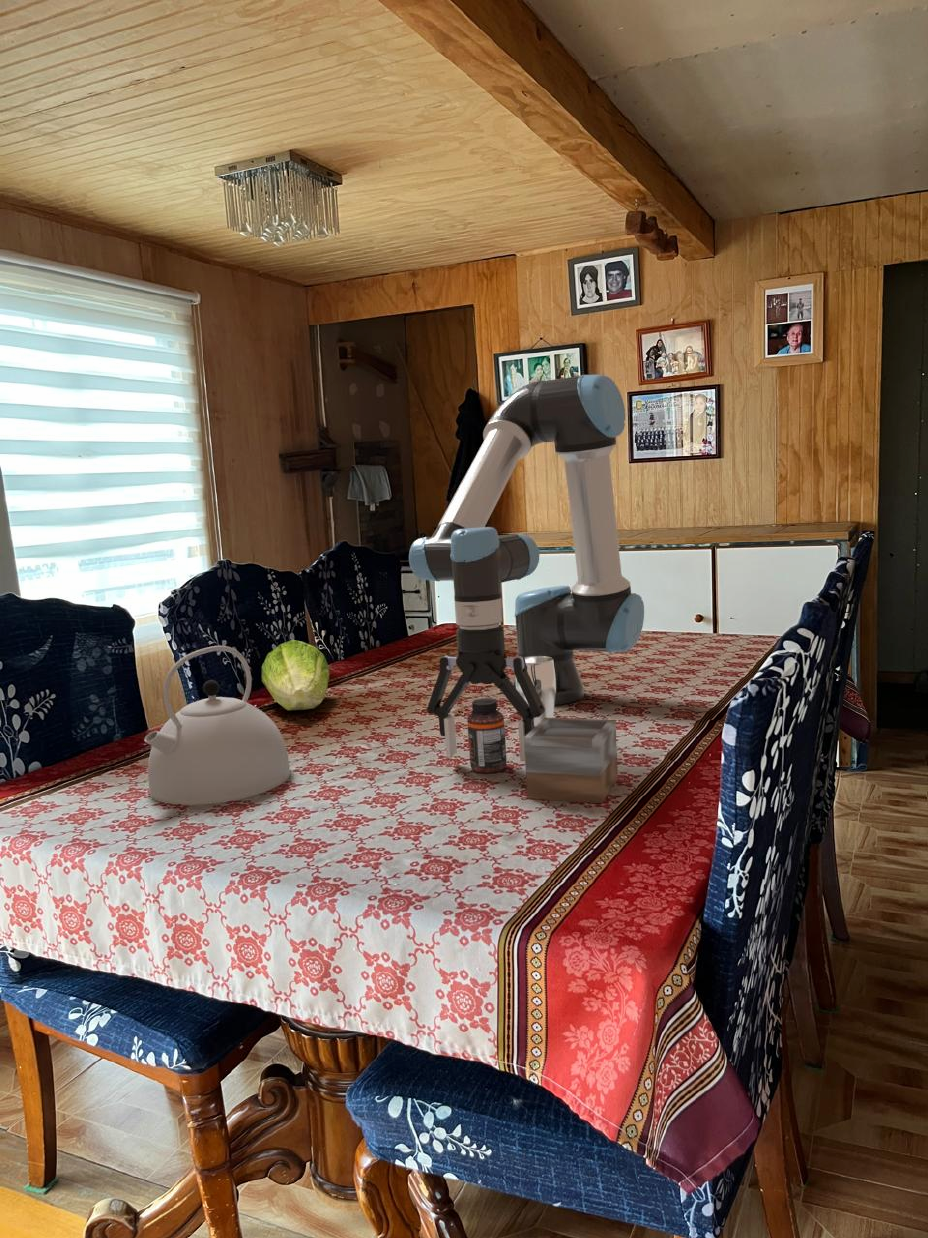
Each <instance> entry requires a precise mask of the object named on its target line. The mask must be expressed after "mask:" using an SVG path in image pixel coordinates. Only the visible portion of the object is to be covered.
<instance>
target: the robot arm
mask: <svg viewBox="0 0 928 1238" xmlns="http://www.w3.org/2000/svg"><path fill="white" fill-rule="evenodd" d="M625 421H626V409H625V403H624V400H623V396H622V394H621V391H620V389H619V387H618V386H617V385H616V383H615V382H614V380H613V379H612V378H610V377H609V376H607V375H604V374H581V375H577V376H571V377H570V376H569V377H565V378H556V379H548V380H539V381H533V382H531V383H528V384H525V385H524V386H522V387H520V388H519V389H517V390H515V392H513V393H512V394H511V395H510V396H509V397H507V399H505V400H504V401H503V402H502V403H501V405H499V407H497V409H496V410H495V411H494V412H493V414H492V415H491V417H490V419H489V420H488V422H487V424H486V426H485V427H484V429H483V432H482V437H483V442H482V444H481V445H480V447H479V449H478V451H477V453H476V455H475V457H474V458H473V460H472V462H471V464H470V466H469V468H468V469H467V471H466V473H465V475H464V477H463V479H462V480H461V482H460V484H459V486H458V488H457V490H456V492H455V493H454V495H453V497H452V499H451V501H450V502H449V505H448V507H447V508H446V509H445V512H444V514H443V515H442V517H441V519H440V521H439V522H438V525H437V527H436V529H435V530H434V532H433V533H432V536H425V537H420V538H417V539H416V540H414V541H413V542H412V544H411V545H410V548H409V553H408V563H409V567H410V570H411V571H412V574H413V575H414V576H415V577H416V578H418V579H420V580H422V581H432V582H443V581H445V582H446V581H449V582H450V581H451V582H452V581H453V591H454V592H453V593H454V595H453V597H454V612H455V613H454V615H455V624H456V625H457V626H459V627H458V628H457V629H456V644H457V645H456V647H457V653H458V654H457V657H456V656H451V654H447V655H444V656H443V657H441V658H440V659H439V673H438V674H437V678H436V681H435V684H434V687H433V689H432V690H433V691H432V694H431V696H430V699H429V702H428V705H427V708H426V712H427V713H428V714H430V715H431V714H432V715H435V716H437V718H438V725H439V735H440V736H441V737H444V740H445V741H444V742H445V755H446V758H449V759H451V758H452V757H453V756H455V755H456V754H457V753H458V752H457V736H456V735H457V734H456V733H457V731H456V721H455V720H456V717H455V714H451V711H452V709H453V708H454V706H455V705H456V703H457V702H458V700H459V699H460V698H461V696H462V694H463V693H464V691H465V690H466V689H467V687H468V685H469V684H472V685H478V684H484V685H492V684H494V685H495V687H496V688H497V689H499V690H500V691H501V693H502V694H503V695H504V697H506V699H507V700H508V702H510V704H511V706H513V708H514V709H515V711H517V713H518V715H519V716H520V719H519V720H518V721H517V723H518V724H517V725H518V737H519V738H518V739H519V740H518V741H519V756H520V762H523V763H525V749H524V737H525V736H526V735H527V734H528V733H529V732H530V731H531V730H532V729H533V728H534V718H536V717H539V716H541V715H542V714H543V713H544V712H545V708H544V706H543V704H542V702H541V700H540V697H539V695H538V693H537V691H536V689H535V687H534V685H533V683H532V681H531V678H530V676H529V674H528V672H527V670H526V663H525V657H529V656H548V657H552V658H553V662H554V669H555V678H556V696H555V705H554V706H557V705H558V706H559V705H564V704H571V703H575V702H577V701H579V700H582V699H583V698H584V697H585V695H584V693H585V691H584V683H583V681H582V679H581V676H580V673H579V671H578V668H577V665H576V663H575V659H574V658H575V657H574V651H583V652H585V651H587V652H599V653H601V652H602V653H608V654H612V653H625V652H626V653H627V652H629V651H630V650H632V649H633V648H634V647H635V645H636V644H637V643H638V641H639V639H640V636H641V634H642V630H643V627H644V620H645V604H644V601H643V600H642V599H643V598H642V596H641V595H640V594H637V593H636V592H635V593H633V592H632V589H631V581H630V580H628V579H627V578H626V577H624V576H623V575H622V567H621V566H622V565H621V557H620V549H619V548H620V547H619V537H618V536H619V535H618V528H617V518H616V506H615V498H614V489H613V488H614V487H613V477H612V469H611V458H610V454H611V453H612V451H613V450H614V449H615V447H616V446H617V437H618V436H620V435H621V434H623V431H624V429H625V426H626V423H625ZM541 443H542V444H543V443H553V444H554V451H555V454H556V455H558V457H560V458H561V459H562V460H563V461H564V462H563V463H564V469H565V477H566V485H567V494H568V504H569V512H570V519H571V522H570V523H571V529H572V538H573V548H574V557H575V563H576V573H577V581H576V583H575V584H574V585H572V588H571V587H570V586H569V585H558V586H557V585H556V586H552V587H544V588H539V589H534V590H528V591H526V592H521V593H520V594H518V595H517V596H516V598H515V602H514V606H515V607H514V610H515V611H514V617H515V630H516V631H515V632H516V645H517V649H516V650H517V656H516V657H515V656H514V657H513V656H512V657H508V656H507V654H506V652H505V650H506V648H505V631H504V626H502V625H501V623H503V622H504V613H503V600H502V599H503V598H502V597H503V596H502V583H506V582H510V581H515V580H518V581H520V580H521V579H523V578H526V577H529V576H530V575H531V574H533V573H534V572H535V570H536V569H537V567H538V565H539V562H540V549H539V548H538V545H537V543H536V542H535V540H534V539H533V538H532V537H530V536H529V535H526V534H523V533H509V534H506V535H499V533H498V531H497V529H496V528H495V527H491V526H486V525H487V523H488V521H489V519H490V517H491V515H492V513H493V511H494V509H495V507H496V505H497V504H498V501H499V500H500V499H501V498H500V497H501V495H502V494H503V492H504V490H505V488H506V486H507V484H508V482H509V479H510V478H511V476H512V474H513V473H514V470H515V468H516V466H517V464H518V462H519V460H522V459H524V458H525V457H526V456H527V455H528V454H529V452H530V450H531V449H532V447H534V446H536V445H538V444H541ZM456 666H457V668H458V669H459V671H461V673H462V674H461V675H460V676H459V678H458V680H457V681H456V684H455V685H454V686H453V688H452V690H451V691H450V692H449V694H448V696H447V697H446V699H445V701H444V702H443V704H442V701H443V698H444V695H445V693H446V692H445V691H446V689H447V686H448V684H449V681H450V677H451V674H452V671H453V670H454V669H455V667H456ZM507 666H509V668H510V670H511V671H512V672H513V673H514V678H513V683H512V682H511V679H510V677H509V676H508V674H507V673H506V672H505V669H506V668H507ZM516 679H517V681H518V683H519V685H520V687H521V689H522V691H523V693H524V695H525V698H526V700H527V702H528V704H529V705H528V704H527V702H526V701H525V700H524V698H523V697H522V696H521V695H520V693H519V692H518V691H517V689H516ZM441 704H442V705H441Z"/></svg>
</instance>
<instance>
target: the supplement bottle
mask: <svg viewBox="0 0 928 1238" xmlns="http://www.w3.org/2000/svg"><path fill="white" fill-rule="evenodd" d="M471 709H472V711H471V713H470V714H469V715H468V716H467V721H466V722H467V736H468V751H469V752H468V753H469V764H470V768H471V770H472V771H473V772H477V773H481V774H483V773H485V774H491V773H498V772H501V771H502V770H504V769H505V768H506V767H507V745H506V730H505V727H506V726H505V718H504V714H503V713H502V712H501V711H498V710H497V709H498V701H497V699H495V698H493V697H492V698H490V697H484V698H483V697H482V698H476V699H474V700H472V703H471Z"/></svg>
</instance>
